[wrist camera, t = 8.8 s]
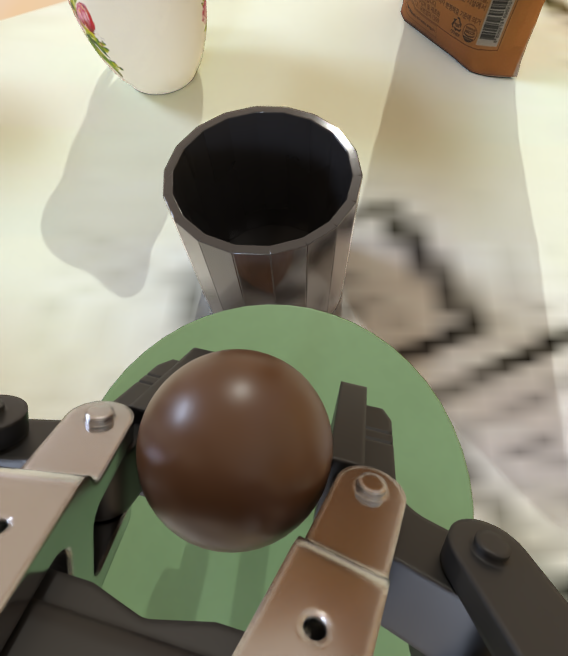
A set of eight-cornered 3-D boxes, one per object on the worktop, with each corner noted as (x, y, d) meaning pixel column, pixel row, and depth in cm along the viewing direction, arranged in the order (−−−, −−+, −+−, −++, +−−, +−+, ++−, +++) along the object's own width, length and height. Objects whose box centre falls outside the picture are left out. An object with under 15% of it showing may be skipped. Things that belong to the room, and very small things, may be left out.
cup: (193, 243, 31) (149, 129, 22) (319, 212, 32) (326, 89, 23) (219, 360, 27) (179, 277, 18) (363, 321, 28) (393, 223, 19)
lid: (69, 364, 18) (-174, 193, 9) (377, 283, 19) (448, 58, 10) (93, 805, 12) (-603, 1740, 3) (539, 648, 13) (1098, 935, 4)
